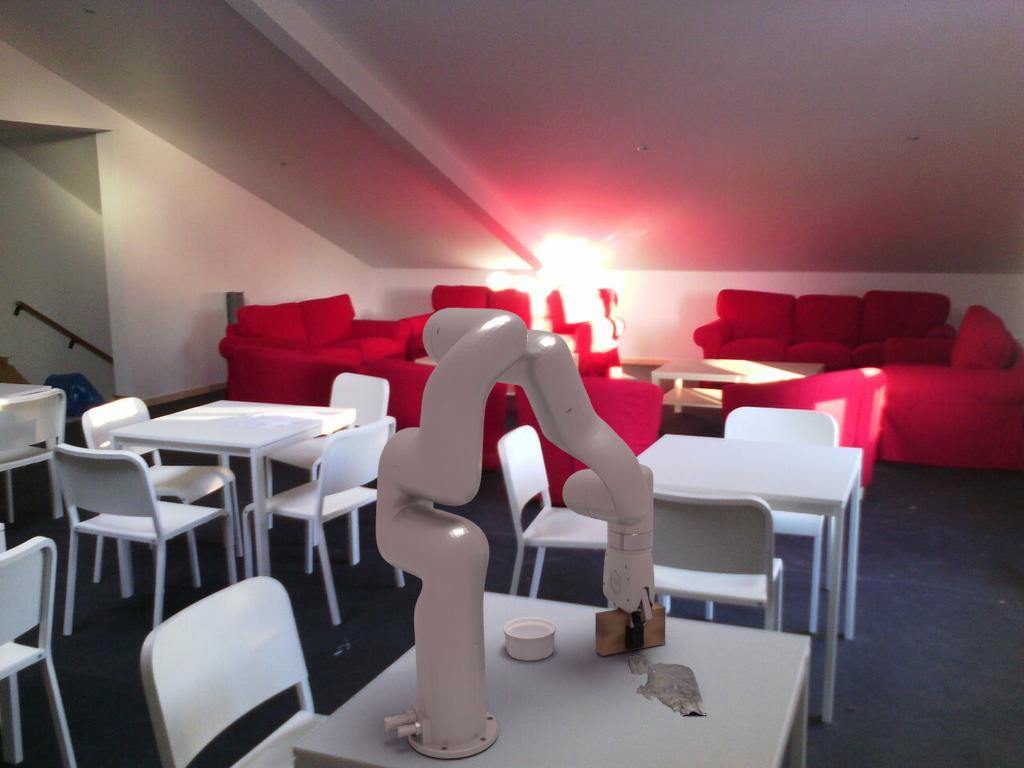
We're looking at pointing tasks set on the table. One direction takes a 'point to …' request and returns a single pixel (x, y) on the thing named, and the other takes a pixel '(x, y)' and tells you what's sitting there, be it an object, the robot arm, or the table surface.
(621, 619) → the brown wooden block
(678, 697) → the stone slab
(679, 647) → the table surface
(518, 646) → the ramekin
